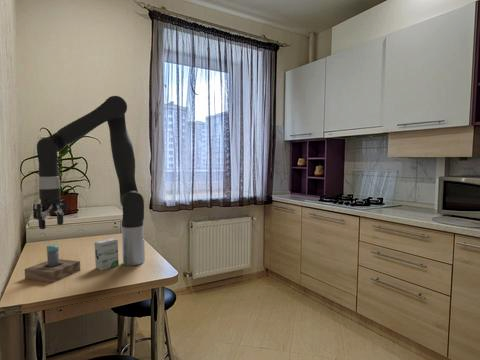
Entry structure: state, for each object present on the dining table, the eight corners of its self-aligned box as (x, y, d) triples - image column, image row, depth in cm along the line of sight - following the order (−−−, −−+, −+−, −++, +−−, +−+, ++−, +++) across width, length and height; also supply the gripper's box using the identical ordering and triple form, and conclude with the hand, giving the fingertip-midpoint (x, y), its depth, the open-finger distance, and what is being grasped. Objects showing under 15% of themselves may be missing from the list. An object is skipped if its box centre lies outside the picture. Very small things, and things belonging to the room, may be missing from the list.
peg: (53, 272, 135) (52, 244, 134) (61, 273, 133) (60, 245, 133) (45, 275, 130) (44, 246, 130) (53, 276, 129) (52, 247, 129)
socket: (54, 267, 140) (53, 258, 140) (80, 270, 137) (80, 261, 136) (25, 278, 127) (24, 269, 127) (53, 282, 123) (52, 272, 123)
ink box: (113, 263, 146) (112, 237, 145) (119, 265, 143) (118, 239, 142) (94, 268, 139) (93, 241, 139) (100, 270, 136) (99, 243, 136)
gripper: (41, 189, 122) (44, 231, 123) (70, 186, 135) (72, 223, 136) (26, 189, 124) (28, 230, 125) (56, 185, 137) (58, 222, 138)
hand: (51, 226), depth 131 cm, fingers open, 8 cm apart
